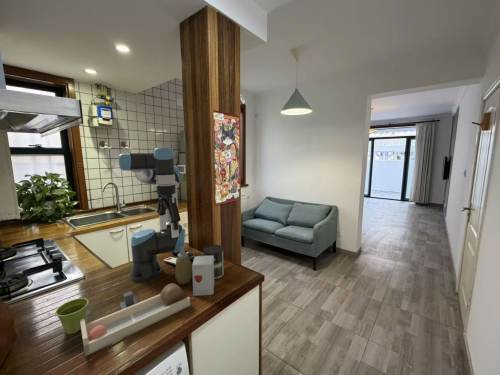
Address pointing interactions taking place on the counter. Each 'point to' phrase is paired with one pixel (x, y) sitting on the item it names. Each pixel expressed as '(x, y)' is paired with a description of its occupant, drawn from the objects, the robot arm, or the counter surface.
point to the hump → (172, 294)
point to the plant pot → (72, 314)
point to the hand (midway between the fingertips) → (169, 233)
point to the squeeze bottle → (183, 268)
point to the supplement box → (203, 275)
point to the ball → (97, 332)
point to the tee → (128, 300)
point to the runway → (129, 321)
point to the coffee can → (216, 259)
